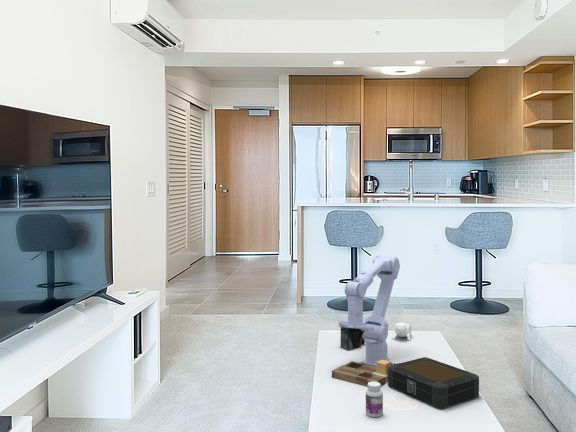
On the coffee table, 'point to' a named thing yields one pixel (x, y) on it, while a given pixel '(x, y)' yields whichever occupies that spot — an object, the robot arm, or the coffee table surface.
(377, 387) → the pill bottle
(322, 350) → the coffee table surface
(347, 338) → the box
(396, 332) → the white rounded figure
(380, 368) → the block
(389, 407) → the coffee table surface
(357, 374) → the trap board
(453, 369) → the cash box
